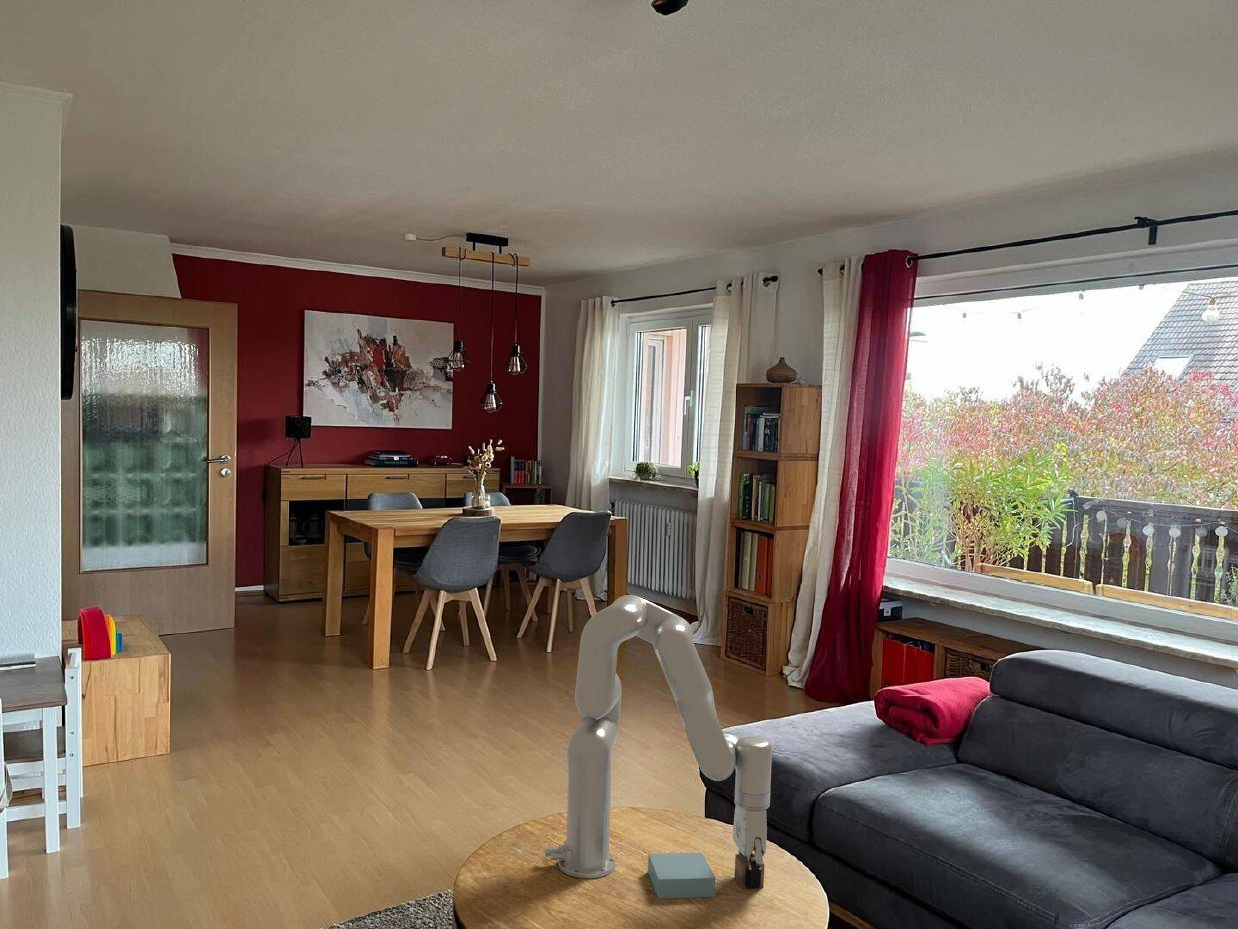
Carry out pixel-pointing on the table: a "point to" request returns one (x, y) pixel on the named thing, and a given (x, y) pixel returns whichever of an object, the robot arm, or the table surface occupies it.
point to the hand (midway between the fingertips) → (749, 879)
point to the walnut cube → (744, 870)
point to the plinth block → (681, 875)
